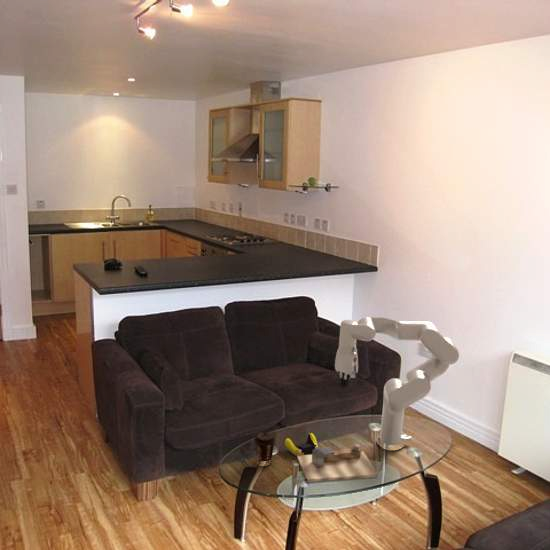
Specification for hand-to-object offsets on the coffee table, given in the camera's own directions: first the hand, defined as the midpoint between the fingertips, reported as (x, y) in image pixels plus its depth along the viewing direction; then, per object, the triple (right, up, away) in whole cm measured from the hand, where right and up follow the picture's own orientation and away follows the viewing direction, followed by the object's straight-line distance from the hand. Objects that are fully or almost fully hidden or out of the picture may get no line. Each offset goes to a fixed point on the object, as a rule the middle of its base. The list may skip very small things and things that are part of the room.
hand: (344, 386), depth 272 cm
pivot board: (-5, -32, -15) cm, 35 cm away
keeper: (-11, -30, -14) cm, 35 cm away
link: (-2, -29, -10) cm, 31 cm away
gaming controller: (-19, -28, -3) cm, 34 cm away
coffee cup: (-36, -30, -14) cm, 49 cm away
